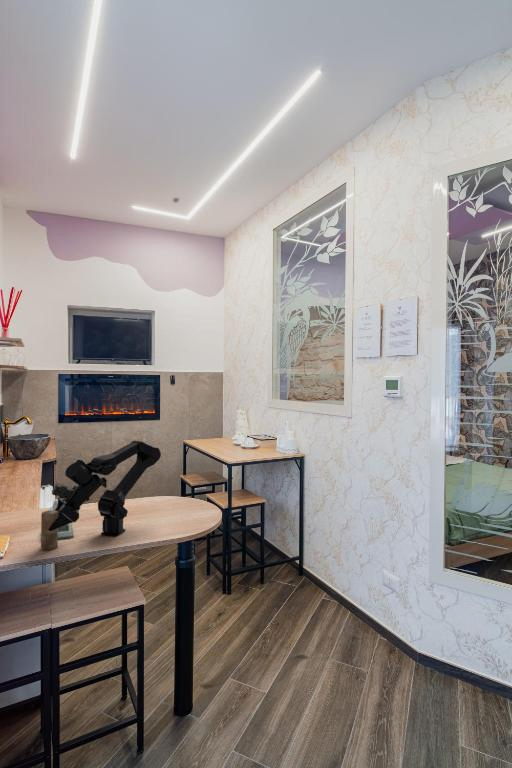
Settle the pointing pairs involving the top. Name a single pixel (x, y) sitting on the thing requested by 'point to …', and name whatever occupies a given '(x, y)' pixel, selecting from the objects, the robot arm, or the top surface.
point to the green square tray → (65, 531)
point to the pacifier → (54, 505)
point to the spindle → (48, 537)
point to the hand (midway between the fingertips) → (49, 525)
